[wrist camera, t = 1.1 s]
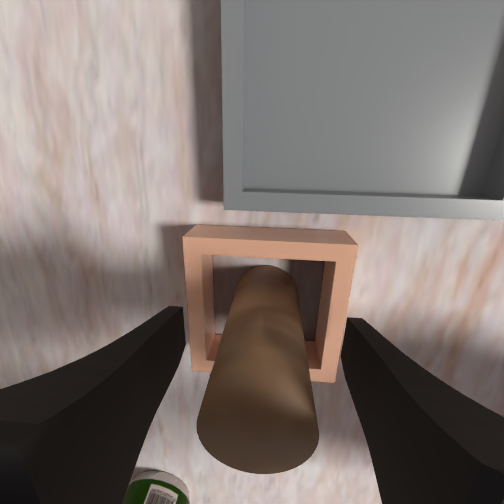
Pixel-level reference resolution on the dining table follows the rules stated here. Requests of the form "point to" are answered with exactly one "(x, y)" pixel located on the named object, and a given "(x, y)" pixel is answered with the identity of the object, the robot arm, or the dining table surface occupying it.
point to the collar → (269, 246)
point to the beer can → (156, 489)
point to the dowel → (261, 380)
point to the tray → (364, 107)
